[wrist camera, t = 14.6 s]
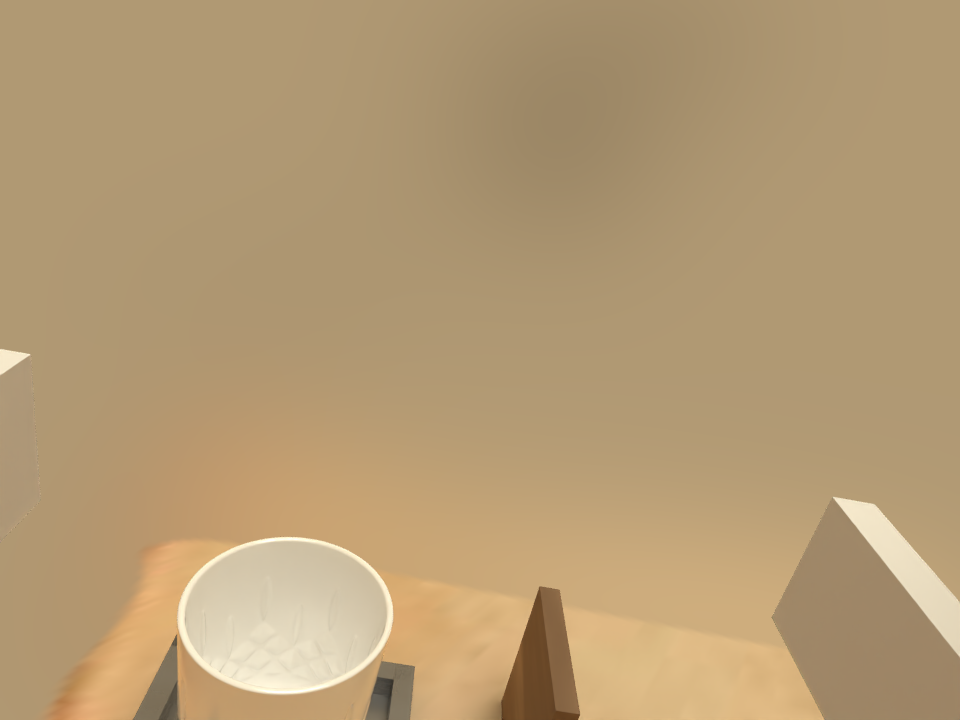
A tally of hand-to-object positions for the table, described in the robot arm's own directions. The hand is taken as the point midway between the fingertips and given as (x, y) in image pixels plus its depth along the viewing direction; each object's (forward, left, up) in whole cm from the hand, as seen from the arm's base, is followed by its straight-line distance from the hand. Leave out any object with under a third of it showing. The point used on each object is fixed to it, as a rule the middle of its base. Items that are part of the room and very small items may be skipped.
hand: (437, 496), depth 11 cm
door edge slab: (-8, -13, -24) cm, 28 cm away
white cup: (+4, -11, -24) cm, 26 cm away
